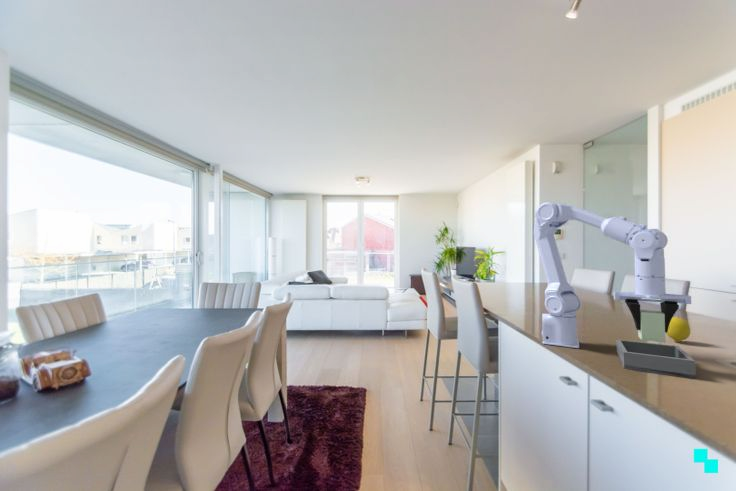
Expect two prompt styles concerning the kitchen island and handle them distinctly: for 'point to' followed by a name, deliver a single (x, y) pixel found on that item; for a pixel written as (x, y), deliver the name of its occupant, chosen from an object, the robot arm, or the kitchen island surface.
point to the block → (652, 326)
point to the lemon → (678, 329)
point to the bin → (655, 358)
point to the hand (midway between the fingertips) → (651, 330)
